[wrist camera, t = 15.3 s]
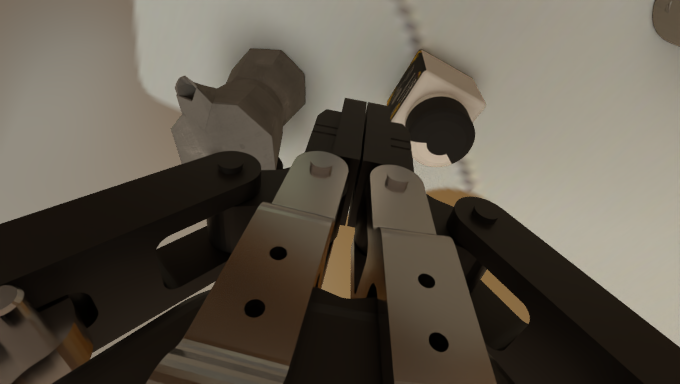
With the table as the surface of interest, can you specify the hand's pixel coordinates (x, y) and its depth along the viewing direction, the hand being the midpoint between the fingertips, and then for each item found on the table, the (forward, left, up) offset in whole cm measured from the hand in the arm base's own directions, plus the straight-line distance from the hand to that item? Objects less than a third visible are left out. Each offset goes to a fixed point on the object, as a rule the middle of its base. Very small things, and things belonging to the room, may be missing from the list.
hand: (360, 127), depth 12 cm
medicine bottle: (-8, +9, -29) cm, 32 cm away
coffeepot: (+10, +13, -29) cm, 33 cm away
